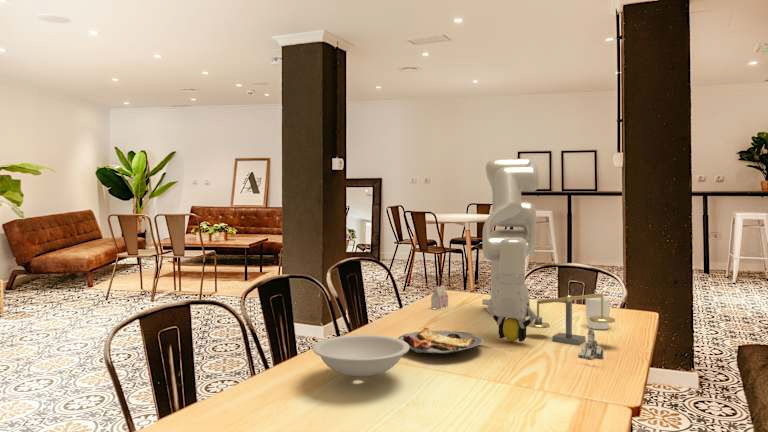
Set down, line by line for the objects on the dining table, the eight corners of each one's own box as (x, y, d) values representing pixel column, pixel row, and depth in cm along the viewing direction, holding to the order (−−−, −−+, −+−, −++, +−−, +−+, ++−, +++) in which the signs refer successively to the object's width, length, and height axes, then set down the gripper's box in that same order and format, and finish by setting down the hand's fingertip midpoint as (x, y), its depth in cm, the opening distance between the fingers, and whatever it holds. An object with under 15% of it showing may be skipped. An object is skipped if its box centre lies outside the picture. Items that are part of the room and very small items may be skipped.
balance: (523, 336, 167) (523, 287, 167) (532, 332, 173) (532, 285, 173) (611, 350, 151) (611, 296, 151) (618, 345, 156) (618, 293, 156)
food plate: (381, 347, 157) (381, 335, 157) (429, 333, 174) (429, 322, 174) (449, 363, 140) (449, 350, 140) (496, 346, 157) (496, 335, 157)
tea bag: (431, 312, 208) (431, 287, 208) (440, 309, 214) (440, 285, 214) (439, 313, 206) (439, 288, 206) (448, 310, 212) (448, 285, 211)
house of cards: (605, 366, 137) (605, 336, 137) (574, 359, 143) (574, 331, 143) (620, 359, 143) (620, 331, 143) (589, 353, 149) (589, 326, 149)
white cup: (605, 325, 184) (605, 296, 184) (613, 330, 176) (613, 300, 176) (582, 324, 185) (582, 296, 185) (589, 329, 177) (589, 300, 177)
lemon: (522, 340, 162) (521, 314, 162) (521, 345, 157) (520, 318, 157) (503, 339, 164) (503, 313, 164) (502, 343, 159) (501, 317, 159)
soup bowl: (375, 395, 115) (375, 365, 115) (292, 377, 128) (292, 350, 128) (426, 367, 136) (426, 341, 135) (350, 354, 148) (350, 330, 148)
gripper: (480, 278, 163) (480, 337, 163) (534, 283, 152) (534, 346, 152) (492, 276, 169) (492, 332, 169) (544, 280, 158) (544, 341, 158)
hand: (512, 338), depth 161 cm, fingers closed on lemon, 5 cm apart
